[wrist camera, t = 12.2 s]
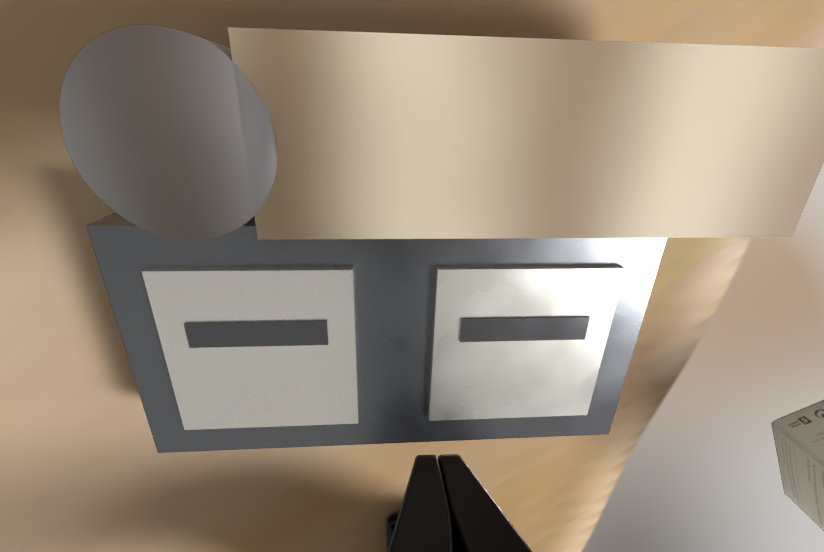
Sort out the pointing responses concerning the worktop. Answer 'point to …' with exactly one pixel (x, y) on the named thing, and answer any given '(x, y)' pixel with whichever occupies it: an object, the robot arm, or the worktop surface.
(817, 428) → the supplement box
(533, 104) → the notched beige block
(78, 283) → the worktop surface
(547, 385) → the slab
